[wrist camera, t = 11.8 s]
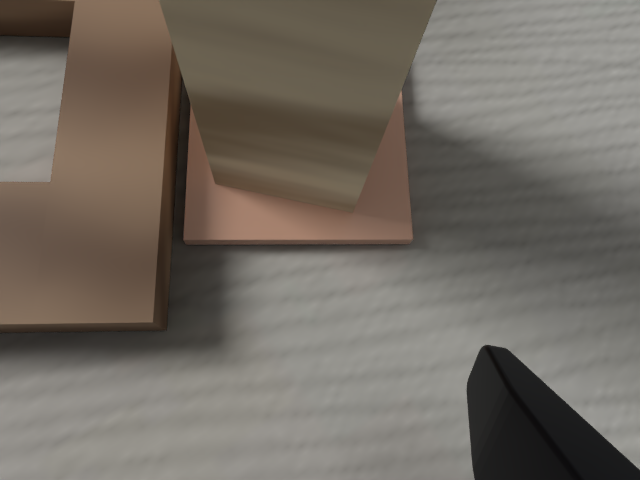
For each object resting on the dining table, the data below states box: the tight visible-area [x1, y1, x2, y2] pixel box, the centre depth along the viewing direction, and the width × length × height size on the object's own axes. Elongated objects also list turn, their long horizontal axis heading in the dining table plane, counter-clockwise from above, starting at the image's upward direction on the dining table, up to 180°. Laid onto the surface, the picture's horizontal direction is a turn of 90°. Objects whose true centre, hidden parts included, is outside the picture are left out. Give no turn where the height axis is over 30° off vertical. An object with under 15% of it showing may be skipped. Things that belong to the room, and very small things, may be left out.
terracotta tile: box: [183, 90, 413, 245], centre depth 20 cm, size 8×8×1 cm
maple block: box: [159, 0, 437, 213], centre depth 13 cm, size 5×5×13 cm
